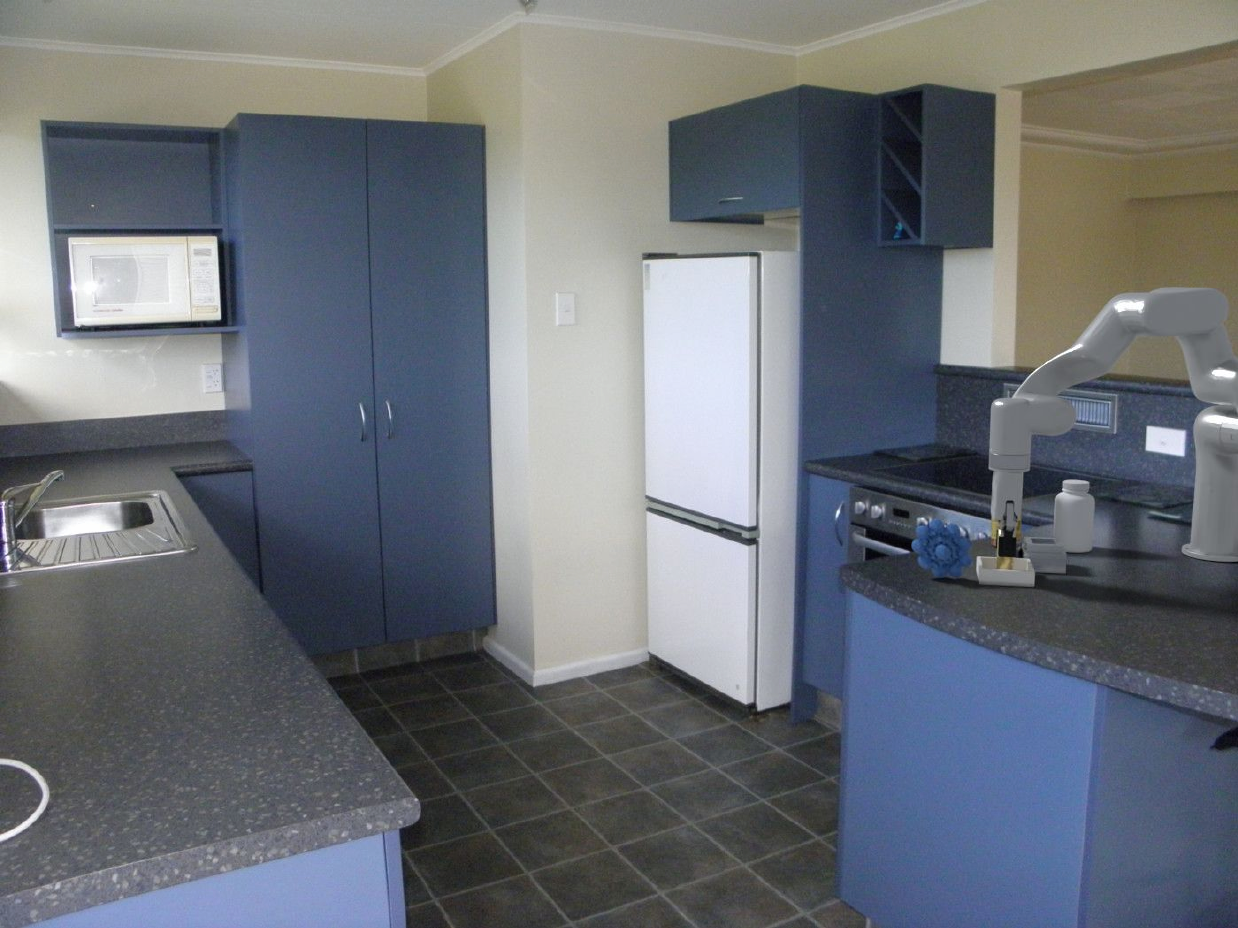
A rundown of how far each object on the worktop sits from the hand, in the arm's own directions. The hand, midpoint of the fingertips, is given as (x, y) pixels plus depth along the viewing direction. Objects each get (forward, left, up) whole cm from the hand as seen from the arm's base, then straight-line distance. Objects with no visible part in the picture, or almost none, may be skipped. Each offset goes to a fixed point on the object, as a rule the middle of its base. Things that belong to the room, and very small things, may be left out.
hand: (1005, 552), depth 208 cm
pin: (0, 0, -5) cm, 5 cm away
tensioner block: (-6, -10, -5) cm, 13 cm away
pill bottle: (-16, -27, -6) cm, 32 cm away
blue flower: (+12, +3, -6) cm, 14 cm away
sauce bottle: (-2, -27, -6) cm, 28 cm away
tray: (0, 0, -5) cm, 5 cm away
